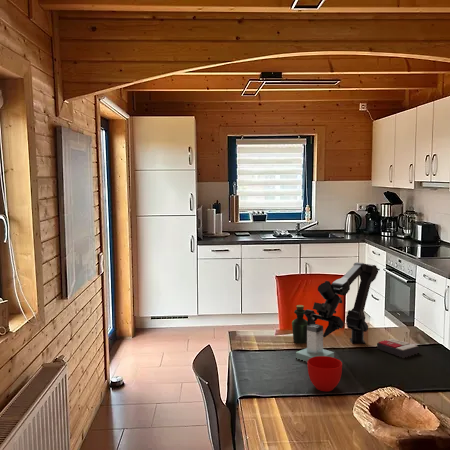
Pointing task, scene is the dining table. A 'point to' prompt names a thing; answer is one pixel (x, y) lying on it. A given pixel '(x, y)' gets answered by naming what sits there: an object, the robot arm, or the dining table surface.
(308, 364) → the ceramic cup
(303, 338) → the potion bottle
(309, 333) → the housing
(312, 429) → the dining table surface
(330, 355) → the stand
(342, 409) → the dining table surface
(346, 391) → the dining table surface
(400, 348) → the red grey flat block
